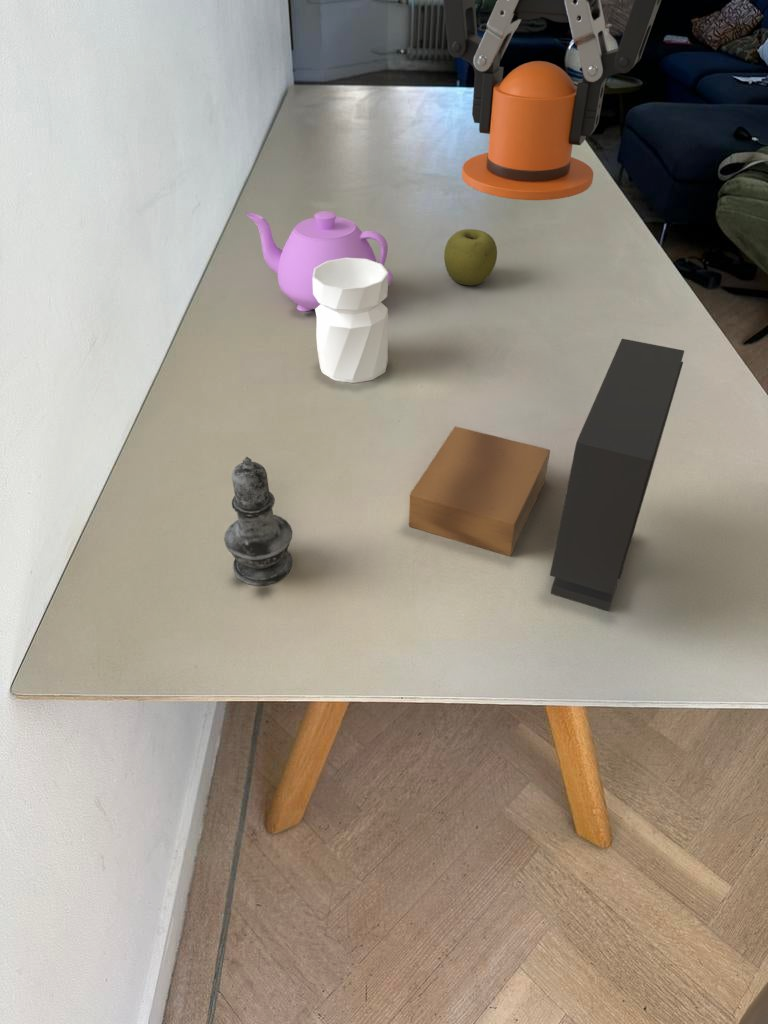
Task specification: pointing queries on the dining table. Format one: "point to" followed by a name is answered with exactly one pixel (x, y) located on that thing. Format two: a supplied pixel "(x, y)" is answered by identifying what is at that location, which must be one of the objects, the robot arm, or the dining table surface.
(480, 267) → the apple
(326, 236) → the teapot
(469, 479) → the stand
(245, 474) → the chess piece
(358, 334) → the vase
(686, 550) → the dining table surface
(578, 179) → the hat
